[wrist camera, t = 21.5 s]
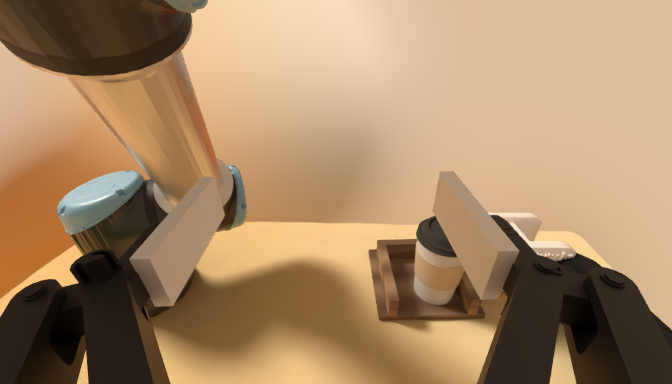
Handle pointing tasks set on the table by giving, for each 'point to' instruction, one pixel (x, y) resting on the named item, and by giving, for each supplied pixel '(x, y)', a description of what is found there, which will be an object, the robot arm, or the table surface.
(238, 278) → the table surface
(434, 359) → the table surface
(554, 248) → the cable organizer
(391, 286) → the brown wooden tray
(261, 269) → the table surface
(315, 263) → the table surface
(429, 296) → the coffee cup
